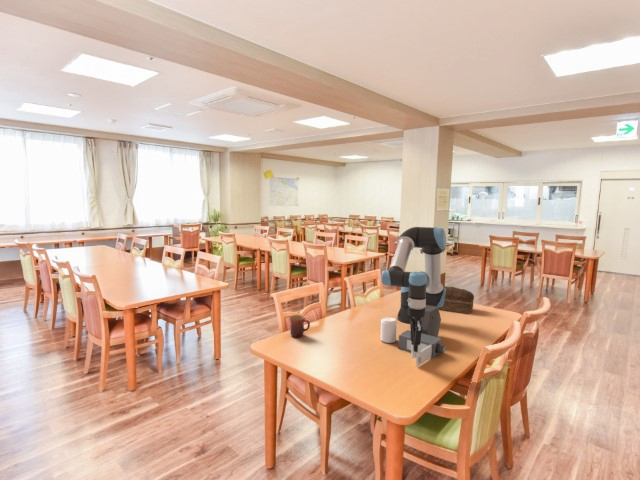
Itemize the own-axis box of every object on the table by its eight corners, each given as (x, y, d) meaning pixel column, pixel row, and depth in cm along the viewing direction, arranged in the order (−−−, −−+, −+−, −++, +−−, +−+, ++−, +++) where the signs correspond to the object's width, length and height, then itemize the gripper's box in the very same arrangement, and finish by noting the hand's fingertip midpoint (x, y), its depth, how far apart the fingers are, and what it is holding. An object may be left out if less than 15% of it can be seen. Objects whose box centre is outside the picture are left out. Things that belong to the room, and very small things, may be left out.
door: (419, 367, 160) (420, 353, 159) (415, 366, 161) (416, 352, 160) (433, 358, 170) (434, 345, 169) (429, 357, 171) (430, 344, 170)
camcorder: (398, 348, 181) (398, 333, 180) (407, 342, 189) (407, 328, 188) (440, 360, 168) (440, 344, 167) (447, 353, 176) (448, 338, 175)
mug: (286, 336, 196) (286, 318, 195) (294, 331, 204) (294, 314, 203) (305, 340, 191) (305, 321, 190) (312, 335, 199) (313, 317, 198)
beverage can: (386, 344, 186) (387, 322, 185) (377, 339, 193) (377, 318, 192) (398, 342, 190) (399, 320, 189) (389, 337, 197) (389, 315, 196)
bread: (428, 302, 266) (428, 281, 264) (474, 309, 250) (475, 287, 248) (423, 307, 253) (424, 285, 251) (471, 315, 237) (473, 291, 236)
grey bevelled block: (429, 322, 207) (422, 297, 196) (442, 325, 202) (436, 300, 191) (418, 345, 197) (410, 320, 186) (432, 349, 192) (425, 323, 181)
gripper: (404, 302, 166) (403, 351, 169) (411, 311, 153) (409, 363, 156) (421, 302, 166) (419, 351, 169) (429, 311, 153) (426, 364, 156)
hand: (414, 357), depth 163 cm, fingers closed
